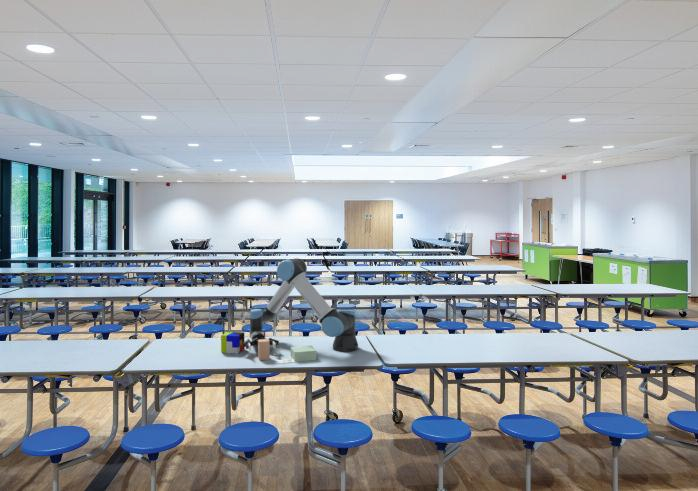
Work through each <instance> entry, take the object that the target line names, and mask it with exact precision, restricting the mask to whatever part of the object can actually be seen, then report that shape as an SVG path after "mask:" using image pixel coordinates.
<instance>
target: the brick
mask: <svg viewBox="0 0 698 491" xmlns="http://www.w3.org/2000/svg"><path fill="white" fill-rule="evenodd" d="M268 339H269V338H265V339H262V340H258V346H257V351H258V352H257V358H258V360H259V361H265V360H267V361H269V360H270V351H271V350H270V345H269V340H268Z"/></svg>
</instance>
